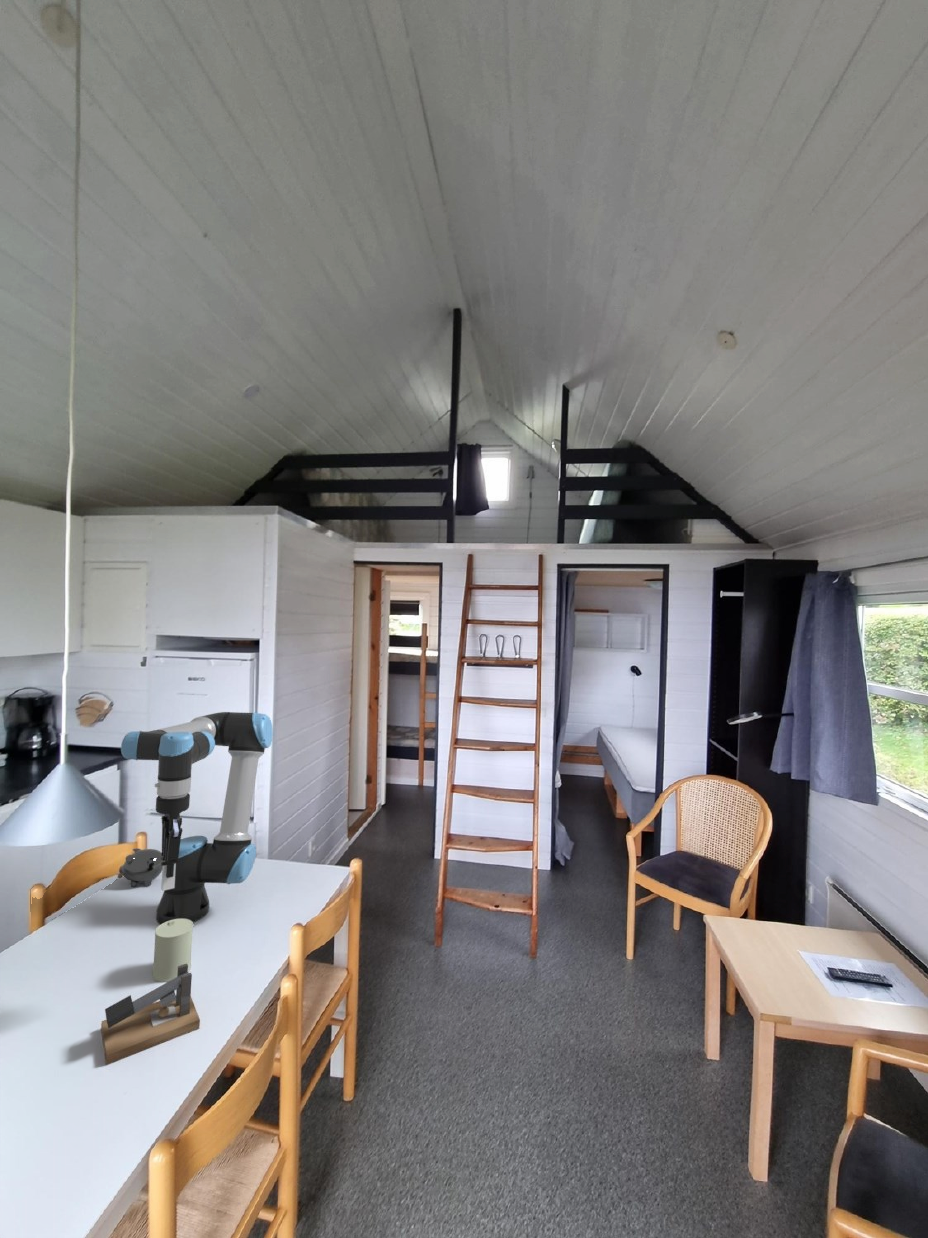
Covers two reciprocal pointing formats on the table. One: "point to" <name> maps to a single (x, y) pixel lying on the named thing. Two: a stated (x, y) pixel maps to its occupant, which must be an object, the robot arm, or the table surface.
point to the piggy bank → (142, 866)
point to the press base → (152, 1024)
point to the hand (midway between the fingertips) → (167, 888)
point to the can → (172, 948)
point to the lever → (143, 1001)
